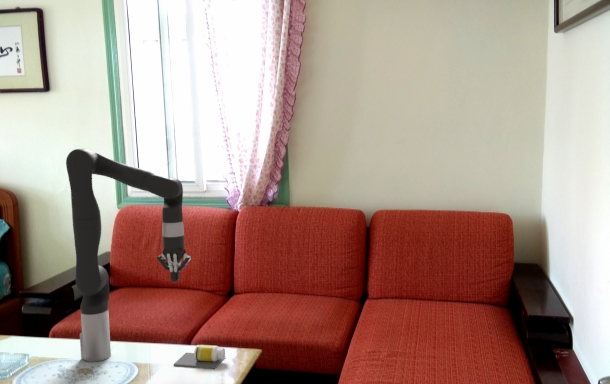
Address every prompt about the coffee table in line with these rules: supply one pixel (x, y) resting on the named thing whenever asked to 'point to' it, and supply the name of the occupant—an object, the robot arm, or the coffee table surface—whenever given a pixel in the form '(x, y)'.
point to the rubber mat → (195, 362)
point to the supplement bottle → (209, 353)
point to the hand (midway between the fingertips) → (175, 281)
